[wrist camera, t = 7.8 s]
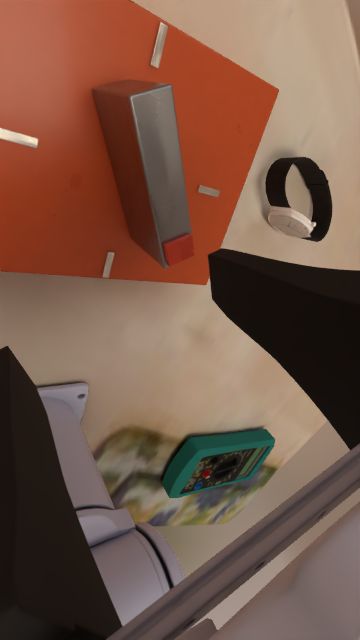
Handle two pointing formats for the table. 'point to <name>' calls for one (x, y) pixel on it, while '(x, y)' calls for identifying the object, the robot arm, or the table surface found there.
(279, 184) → the watch
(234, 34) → the table surface
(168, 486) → the digital multimeter
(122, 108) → the grey block with button
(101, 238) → the orange block
